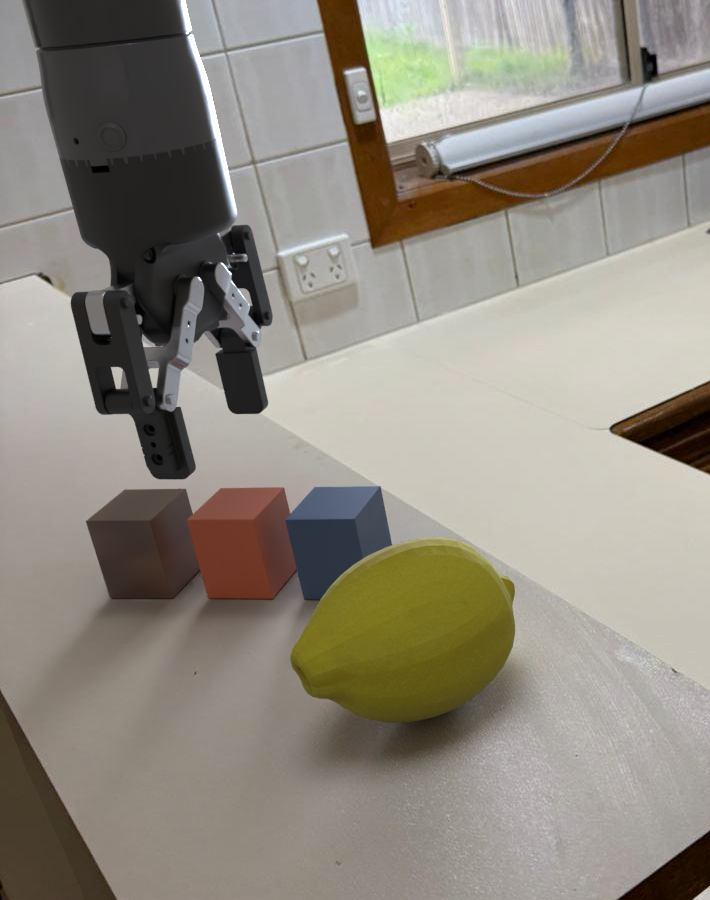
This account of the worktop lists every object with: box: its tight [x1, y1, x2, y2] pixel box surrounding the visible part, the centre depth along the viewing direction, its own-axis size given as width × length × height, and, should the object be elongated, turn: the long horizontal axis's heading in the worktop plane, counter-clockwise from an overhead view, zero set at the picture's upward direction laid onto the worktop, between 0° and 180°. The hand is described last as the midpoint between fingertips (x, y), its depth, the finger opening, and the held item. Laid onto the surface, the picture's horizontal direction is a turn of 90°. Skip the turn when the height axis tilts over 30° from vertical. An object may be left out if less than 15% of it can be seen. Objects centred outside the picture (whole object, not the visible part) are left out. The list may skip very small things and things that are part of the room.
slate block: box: [285, 485, 393, 601], centre depth 63 cm, size 4×4×5 cm
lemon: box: [289, 536, 516, 724], centre depth 51 cm, size 11×8×8 cm
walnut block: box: [85, 488, 200, 599], centre depth 66 cm, size 4×4×5 cm
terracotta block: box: [187, 486, 297, 600], centre depth 65 cm, size 4×4×5 cm
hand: (214, 442), depth 62 cm, fingers open, 8 cm apart
